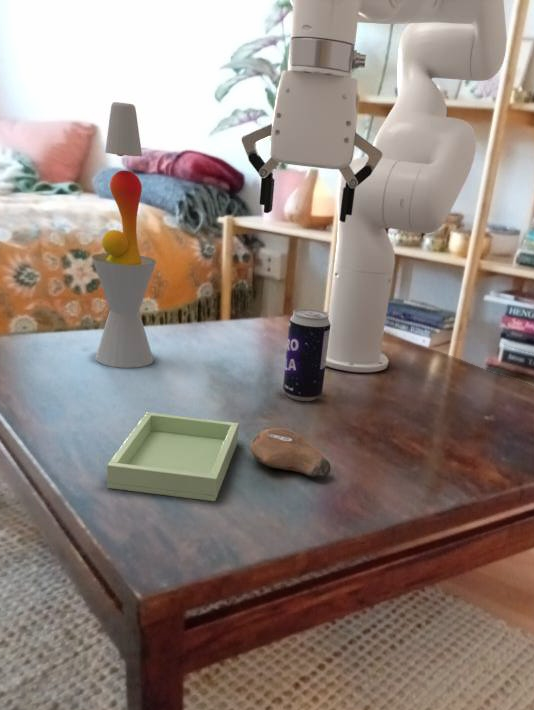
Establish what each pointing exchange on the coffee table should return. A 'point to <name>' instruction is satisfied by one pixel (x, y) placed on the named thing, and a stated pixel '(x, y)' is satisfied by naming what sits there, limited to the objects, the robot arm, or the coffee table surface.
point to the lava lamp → (124, 255)
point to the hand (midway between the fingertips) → (305, 216)
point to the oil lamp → (288, 452)
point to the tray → (174, 457)
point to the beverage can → (306, 354)
